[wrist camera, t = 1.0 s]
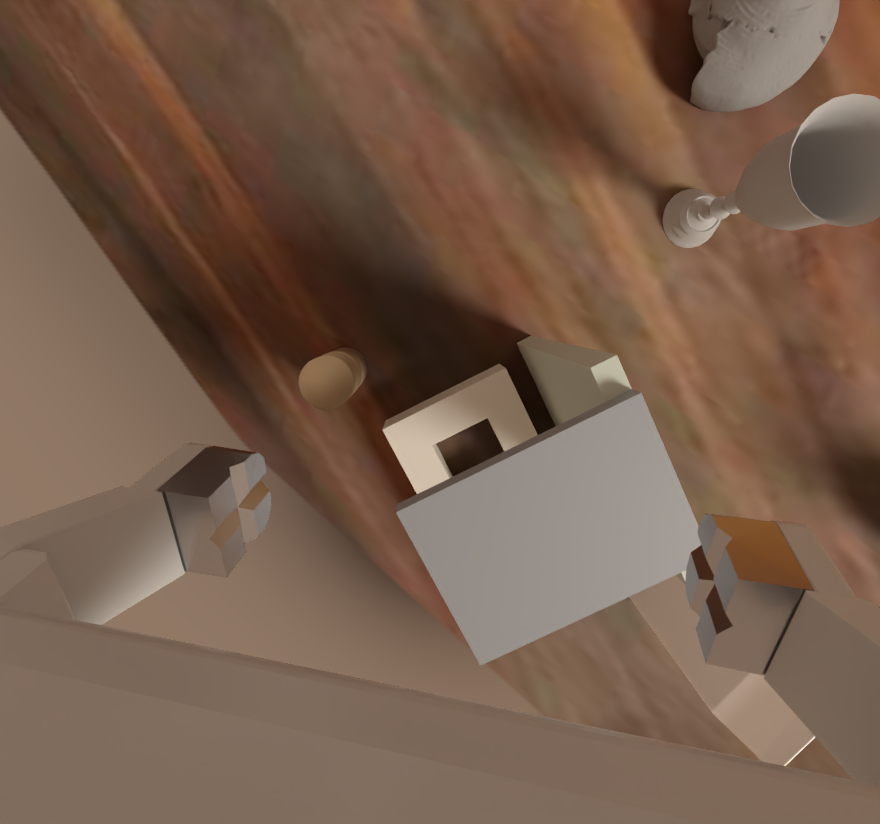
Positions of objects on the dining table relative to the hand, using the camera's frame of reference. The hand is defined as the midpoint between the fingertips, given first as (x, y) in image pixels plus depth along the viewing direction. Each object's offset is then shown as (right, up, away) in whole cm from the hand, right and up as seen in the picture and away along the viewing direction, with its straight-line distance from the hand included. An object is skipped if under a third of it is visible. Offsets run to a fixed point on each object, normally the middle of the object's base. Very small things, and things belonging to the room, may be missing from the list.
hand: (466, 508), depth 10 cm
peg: (-9, +6, +39) cm, 40 cm away
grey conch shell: (+25, +34, +35) cm, 54 cm away
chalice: (+22, +19, +37) cm, 47 cm away
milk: (+21, -14, +44) cm, 51 cm away
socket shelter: (+4, -1, +40) cm, 41 cm away
